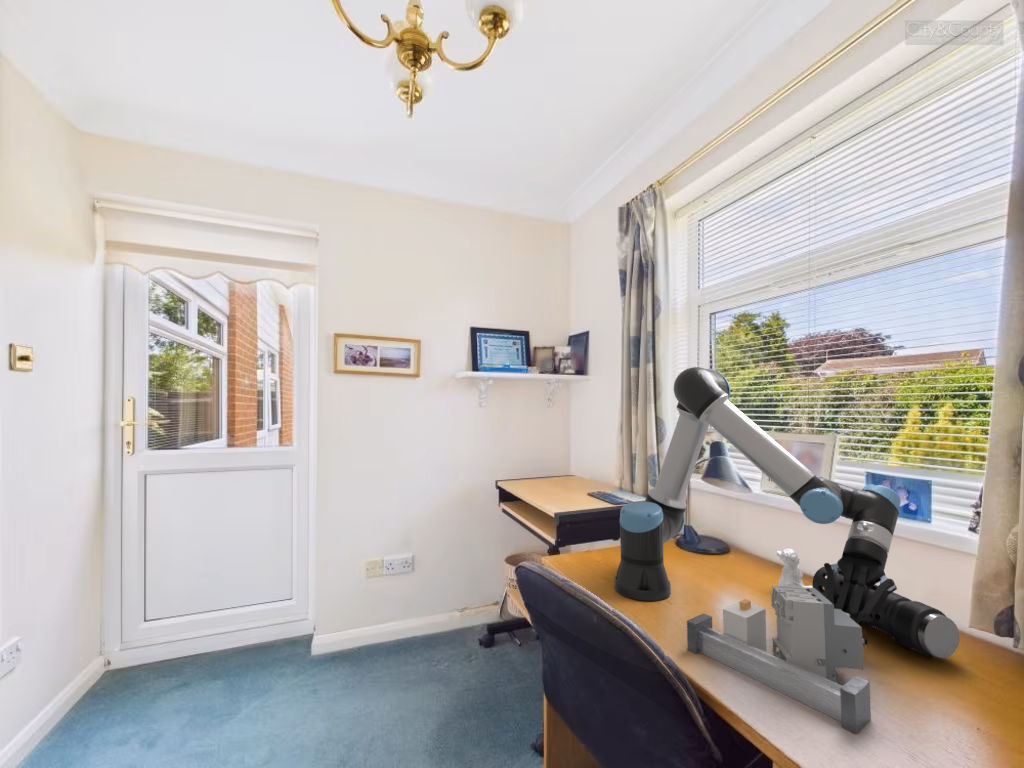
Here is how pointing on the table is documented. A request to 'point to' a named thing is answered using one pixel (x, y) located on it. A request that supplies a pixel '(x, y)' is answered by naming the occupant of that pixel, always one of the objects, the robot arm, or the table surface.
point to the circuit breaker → (815, 632)
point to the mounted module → (746, 623)
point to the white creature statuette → (790, 569)
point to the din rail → (784, 675)
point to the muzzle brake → (905, 620)
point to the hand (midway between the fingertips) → (839, 645)
